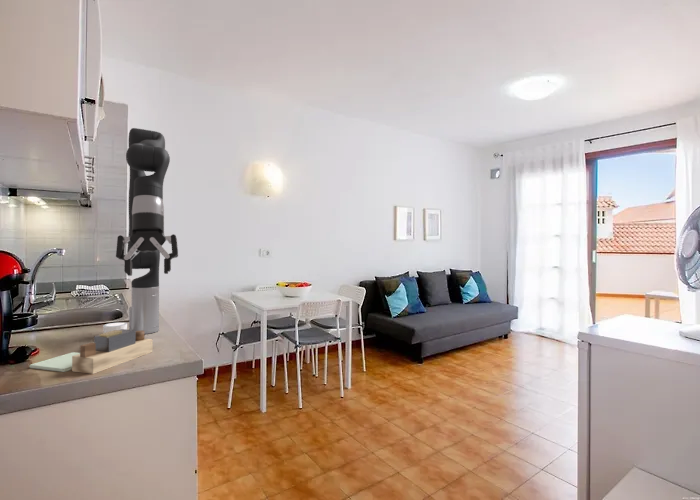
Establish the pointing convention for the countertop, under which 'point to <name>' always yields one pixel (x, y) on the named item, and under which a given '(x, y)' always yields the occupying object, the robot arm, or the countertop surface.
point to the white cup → (114, 326)
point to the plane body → (109, 355)
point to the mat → (56, 363)
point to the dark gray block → (115, 340)
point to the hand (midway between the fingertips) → (148, 274)
